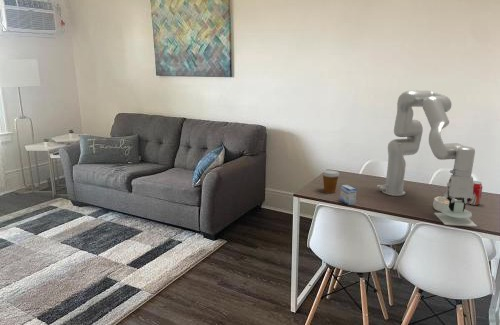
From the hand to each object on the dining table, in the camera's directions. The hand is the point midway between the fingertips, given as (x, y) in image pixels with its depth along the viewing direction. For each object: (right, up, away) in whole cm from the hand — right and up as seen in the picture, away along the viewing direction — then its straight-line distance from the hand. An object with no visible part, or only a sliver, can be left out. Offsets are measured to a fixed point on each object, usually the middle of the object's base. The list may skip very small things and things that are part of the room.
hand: (456, 209), depth 178 cm
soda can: (+22, 0, +24) cm, 33 cm away
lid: (0, -2, 0) cm, 2 cm away
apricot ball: (+3, +1, +14) cm, 14 cm away
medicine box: (-46, +1, +23) cm, 51 cm away
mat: (0, -5, +1) cm, 5 cm away
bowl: (+3, -2, +15) cm, 15 cm away
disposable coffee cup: (-52, +5, +40) cm, 66 cm away
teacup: (+19, +3, +36) cm, 41 cm away
